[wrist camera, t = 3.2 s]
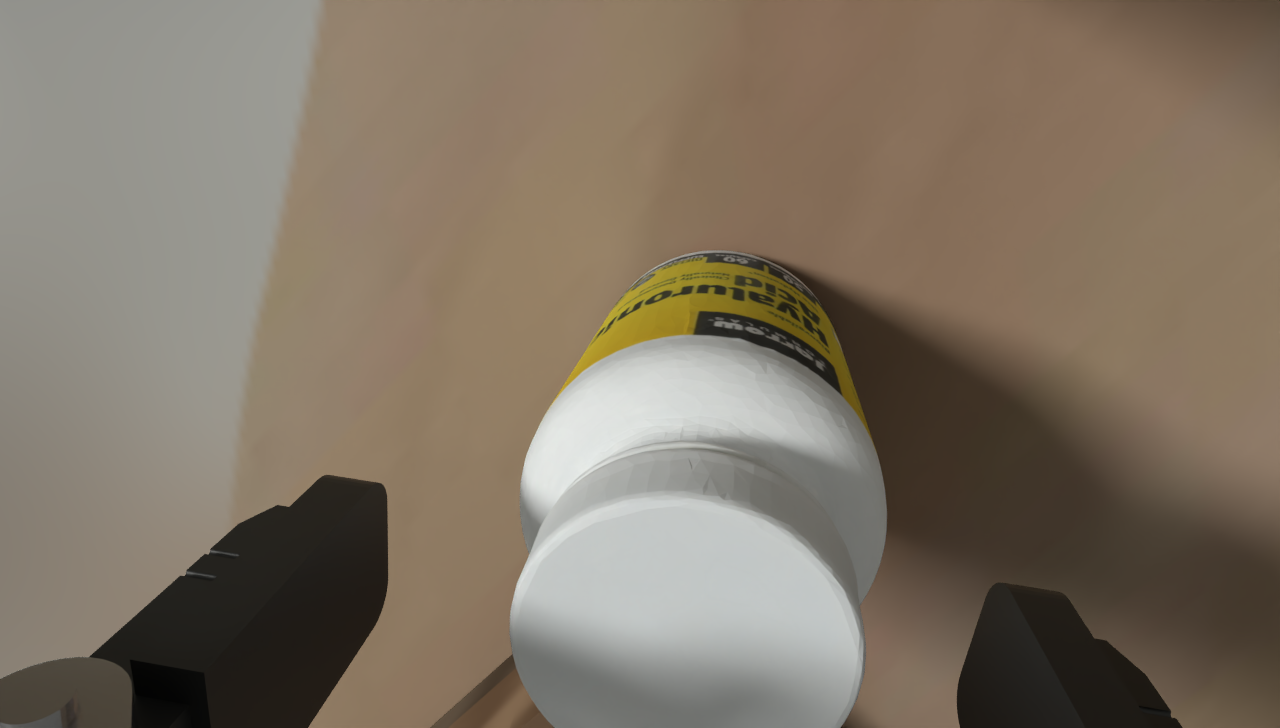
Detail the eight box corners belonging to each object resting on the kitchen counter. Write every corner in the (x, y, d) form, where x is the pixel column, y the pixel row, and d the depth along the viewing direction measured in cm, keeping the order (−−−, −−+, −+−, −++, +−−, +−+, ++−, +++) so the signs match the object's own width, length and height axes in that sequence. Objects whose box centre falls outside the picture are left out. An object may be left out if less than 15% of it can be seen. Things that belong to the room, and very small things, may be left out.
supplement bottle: (845, 243, 16) (975, 450, 7) (829, 469, 18) (915, 865, 9) (595, 242, 17) (418, 430, 8) (605, 460, 19) (472, 818, 10)
